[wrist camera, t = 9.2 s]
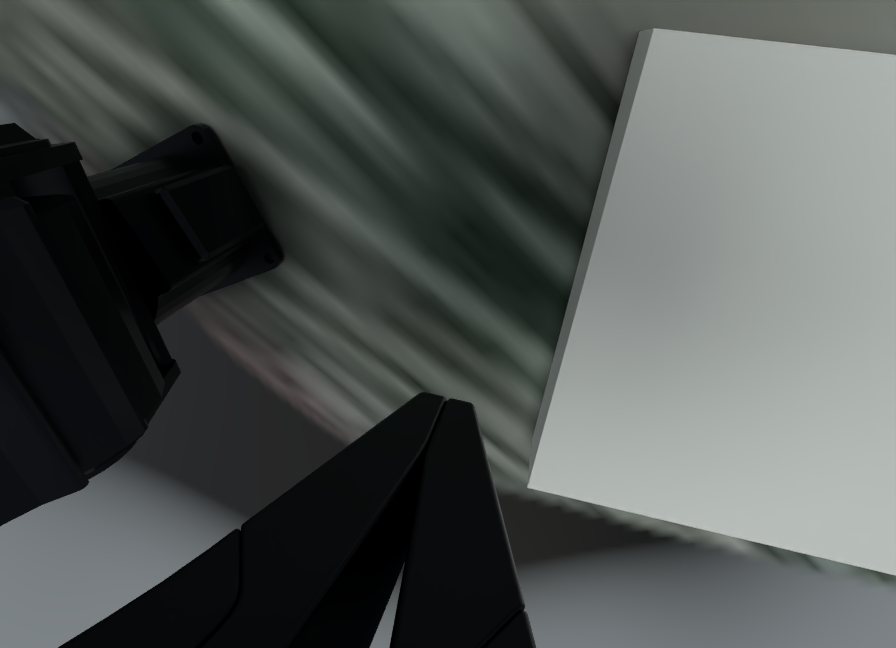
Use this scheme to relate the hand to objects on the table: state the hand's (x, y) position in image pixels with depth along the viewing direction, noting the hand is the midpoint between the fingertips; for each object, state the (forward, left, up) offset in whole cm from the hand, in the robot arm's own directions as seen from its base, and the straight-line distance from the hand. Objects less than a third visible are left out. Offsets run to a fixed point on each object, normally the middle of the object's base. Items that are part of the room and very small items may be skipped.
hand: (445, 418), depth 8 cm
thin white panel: (+11, -9, -13) cm, 19 cm away
